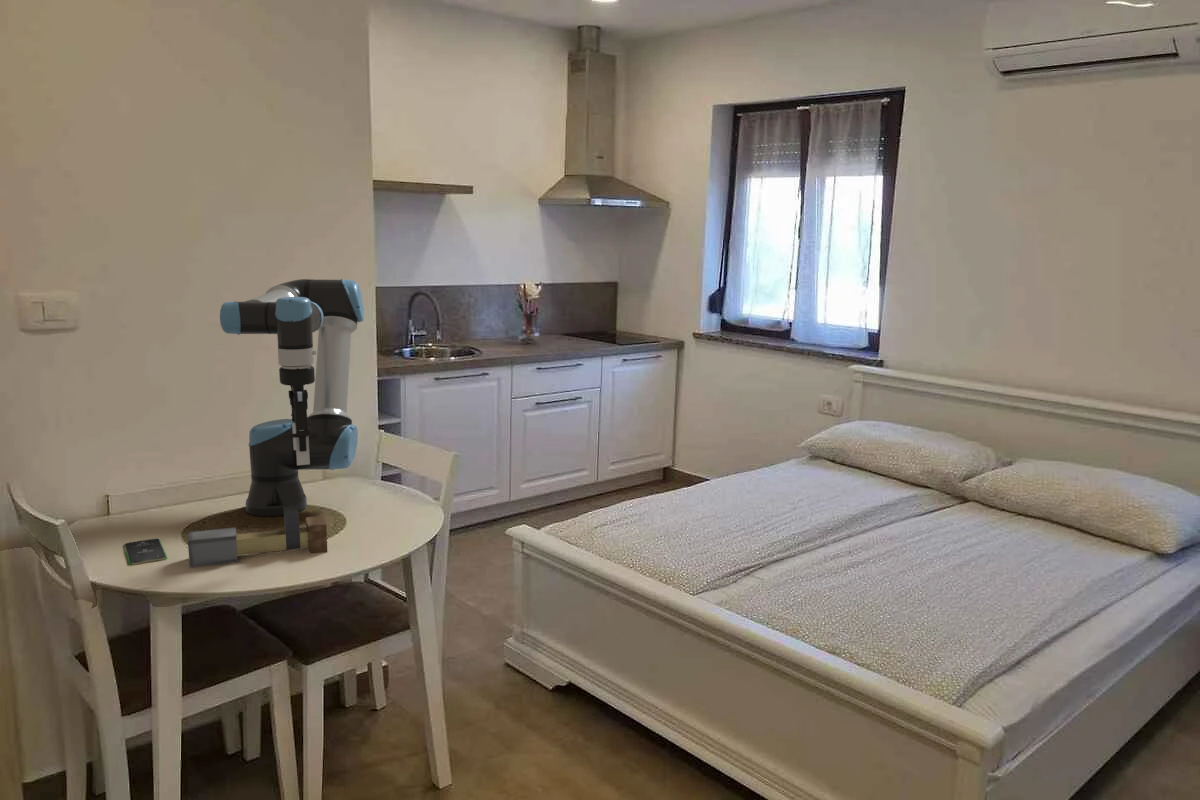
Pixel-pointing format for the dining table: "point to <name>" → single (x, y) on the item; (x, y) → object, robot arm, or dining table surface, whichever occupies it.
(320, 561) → the dining table surface
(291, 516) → the tan sliding insert
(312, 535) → the socket block
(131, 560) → the black processor chip
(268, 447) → the robot arm
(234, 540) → the outer sleeve
